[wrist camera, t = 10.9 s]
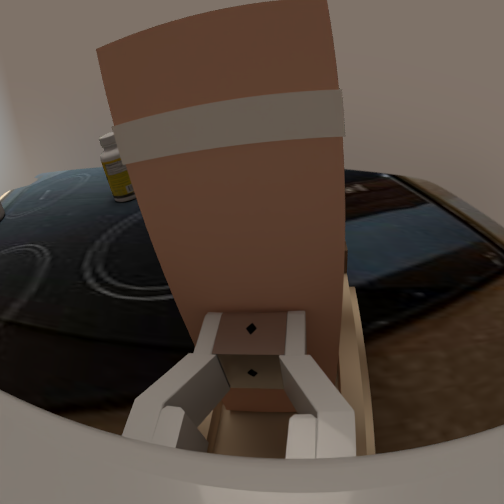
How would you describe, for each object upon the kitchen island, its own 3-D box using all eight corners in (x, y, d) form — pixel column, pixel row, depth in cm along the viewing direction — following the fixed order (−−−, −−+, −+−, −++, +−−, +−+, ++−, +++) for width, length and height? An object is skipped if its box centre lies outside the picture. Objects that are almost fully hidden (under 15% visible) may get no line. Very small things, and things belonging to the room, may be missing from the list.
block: (332, 412, 13) (329, -3, 4) (225, 410, 14) (92, 49, 5) (328, 317, 18) (310, 26, 9) (243, 320, 18) (180, 47, 10)
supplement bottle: (123, 190, 46) (105, 132, 40) (153, 184, 45) (136, 123, 39) (109, 205, 41) (87, 143, 36) (140, 199, 40) (120, 133, 35)
